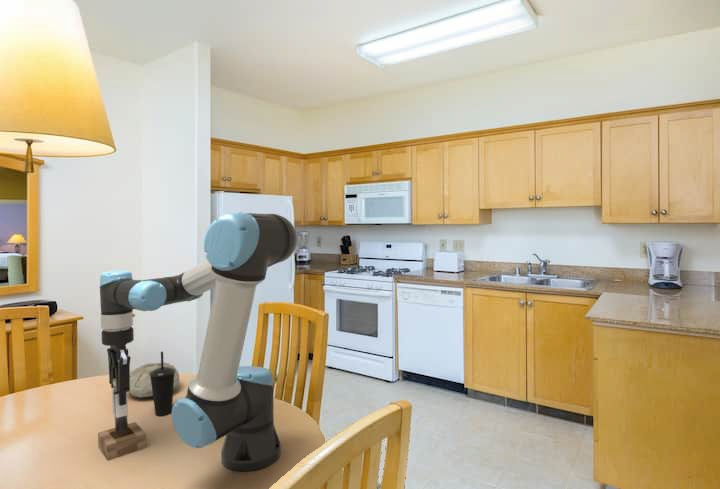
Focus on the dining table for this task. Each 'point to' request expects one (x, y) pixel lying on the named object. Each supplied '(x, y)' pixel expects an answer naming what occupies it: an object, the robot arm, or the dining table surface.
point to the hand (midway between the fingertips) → (120, 413)
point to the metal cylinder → (120, 422)
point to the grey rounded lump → (146, 379)
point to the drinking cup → (162, 389)
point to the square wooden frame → (121, 441)
